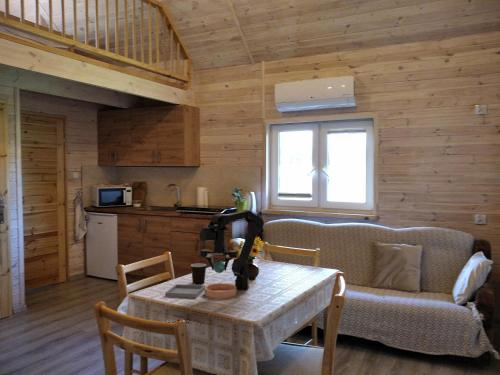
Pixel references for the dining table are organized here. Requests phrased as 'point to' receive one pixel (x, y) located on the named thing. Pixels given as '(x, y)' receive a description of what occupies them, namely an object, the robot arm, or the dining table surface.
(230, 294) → the bowl
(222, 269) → the ball
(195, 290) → the tray
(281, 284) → the dining table surface
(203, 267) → the coffee mug
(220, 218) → the robot arm
